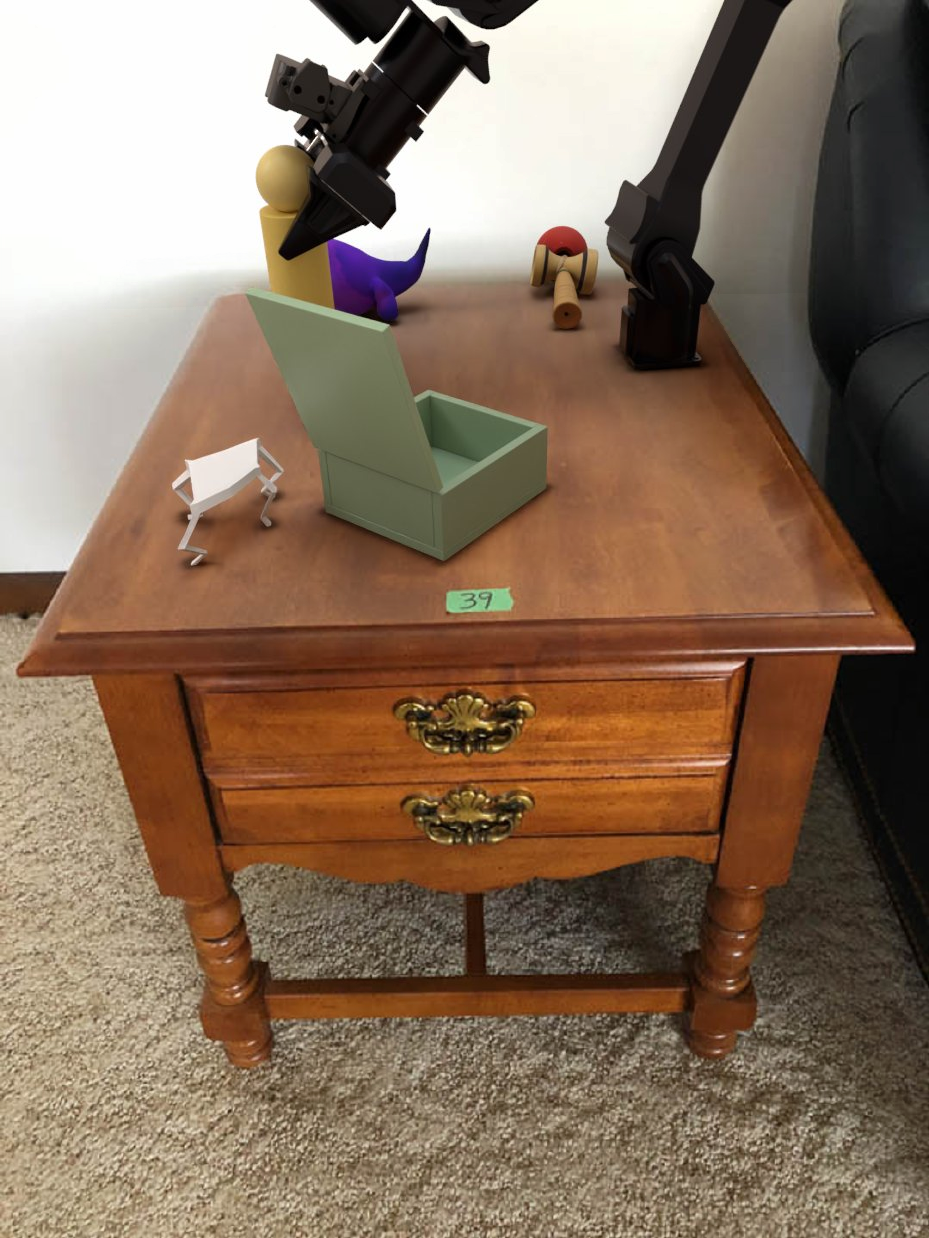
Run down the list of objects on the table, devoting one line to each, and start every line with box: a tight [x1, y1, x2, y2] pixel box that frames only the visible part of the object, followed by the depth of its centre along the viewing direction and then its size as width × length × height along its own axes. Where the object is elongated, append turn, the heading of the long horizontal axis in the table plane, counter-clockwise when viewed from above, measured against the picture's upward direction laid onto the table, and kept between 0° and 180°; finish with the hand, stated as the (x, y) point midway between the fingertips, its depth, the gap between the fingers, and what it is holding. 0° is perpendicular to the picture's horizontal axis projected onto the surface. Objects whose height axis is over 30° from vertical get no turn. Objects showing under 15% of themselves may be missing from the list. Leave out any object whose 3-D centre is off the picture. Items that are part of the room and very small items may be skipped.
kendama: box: [529, 225, 599, 330], centre depth 112 cm, size 8×6×18 cm
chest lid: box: [244, 286, 443, 493], centre depth 67 cm, size 13×12×1 cm
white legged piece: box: [171, 437, 285, 566], centre depth 75 cm, size 12×8×5 cm
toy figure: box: [255, 144, 335, 310], centre depth 86 cm, size 5×5×14 cm
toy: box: [327, 227, 432, 322], centre depth 109 cm, size 9×10×15 cm
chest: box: [317, 389, 549, 562], centre depth 77 cm, size 13×12×5 cm
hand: (279, 246), depth 86 cm, fingers closed on toy figure, 5 cm apart
